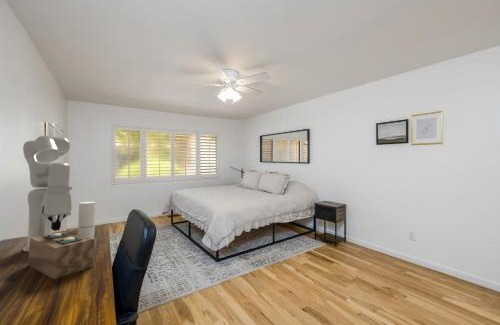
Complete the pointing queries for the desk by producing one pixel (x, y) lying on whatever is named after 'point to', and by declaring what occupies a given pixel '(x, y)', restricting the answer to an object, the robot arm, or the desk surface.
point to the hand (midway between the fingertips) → (55, 230)
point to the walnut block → (61, 254)
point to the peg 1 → (55, 235)
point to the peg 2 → (68, 239)
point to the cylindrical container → (86, 219)
